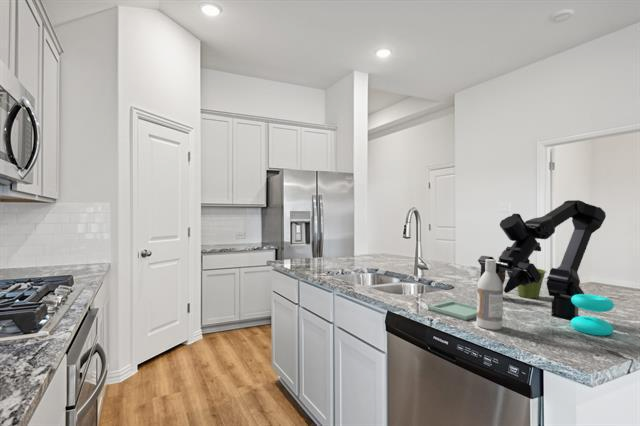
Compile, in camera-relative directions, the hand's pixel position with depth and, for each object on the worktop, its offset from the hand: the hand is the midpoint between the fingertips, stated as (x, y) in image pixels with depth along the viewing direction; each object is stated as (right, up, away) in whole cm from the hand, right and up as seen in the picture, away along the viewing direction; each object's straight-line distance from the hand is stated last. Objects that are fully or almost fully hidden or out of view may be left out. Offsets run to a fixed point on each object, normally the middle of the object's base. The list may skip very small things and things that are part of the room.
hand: (492, 288), depth 107 cm
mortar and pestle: (+19, -12, +36) cm, 43 cm away
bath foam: (-1, -12, 0) cm, 12 cm away
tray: (-5, -11, +15) cm, 19 cm away
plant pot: (+34, -12, +40) cm, 54 cm away
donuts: (+28, -12, -2) cm, 31 cm away
